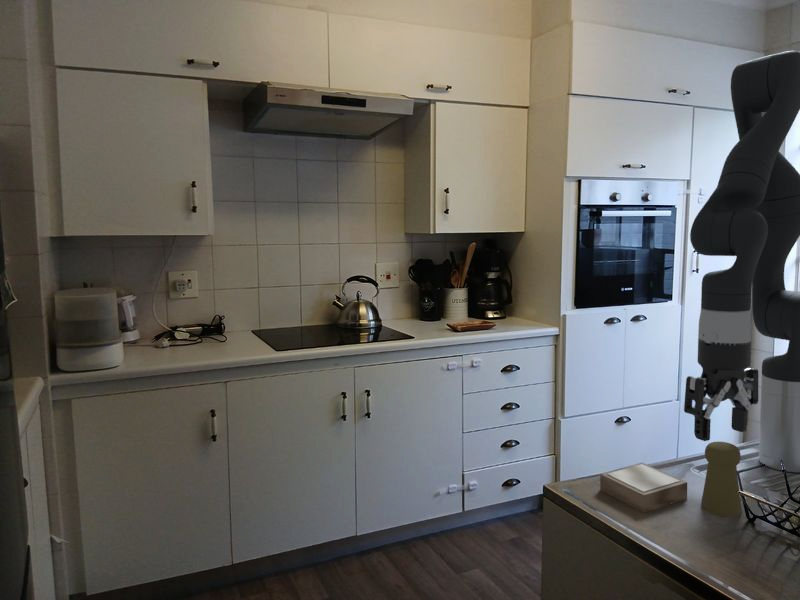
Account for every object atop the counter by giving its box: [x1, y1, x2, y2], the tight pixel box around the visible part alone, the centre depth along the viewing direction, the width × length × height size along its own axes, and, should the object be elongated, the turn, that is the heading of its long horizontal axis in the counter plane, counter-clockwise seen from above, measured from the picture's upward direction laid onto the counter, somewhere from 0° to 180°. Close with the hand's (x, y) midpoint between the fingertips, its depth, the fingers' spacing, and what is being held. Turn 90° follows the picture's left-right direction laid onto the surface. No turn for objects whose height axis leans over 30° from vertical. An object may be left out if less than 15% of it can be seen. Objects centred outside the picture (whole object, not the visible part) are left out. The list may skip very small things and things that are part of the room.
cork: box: [700, 441, 743, 518], centre depth 101 cm, size 6×6×11 cm
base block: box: [599, 462, 688, 514], centre depth 107 cm, size 10×10×3 cm
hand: (720, 435), depth 100 cm, fingers open, 8 cm apart
